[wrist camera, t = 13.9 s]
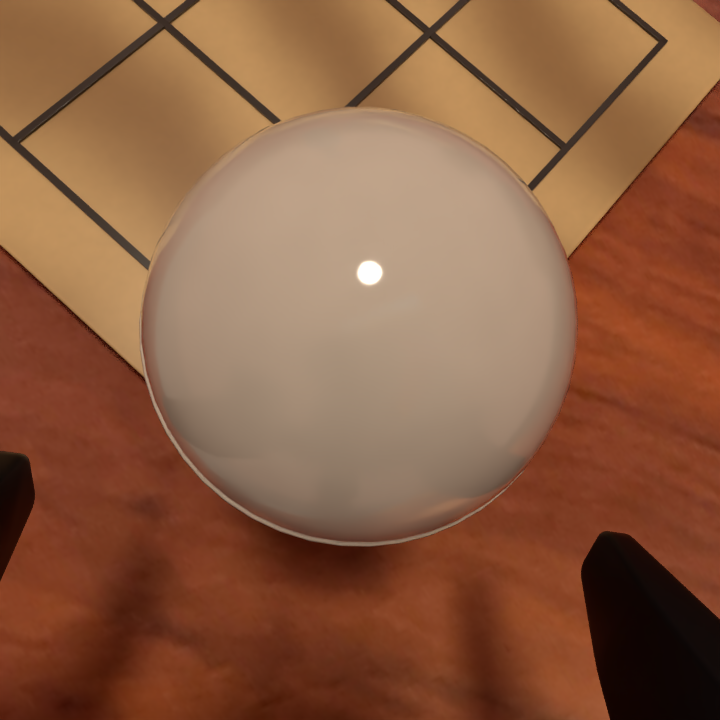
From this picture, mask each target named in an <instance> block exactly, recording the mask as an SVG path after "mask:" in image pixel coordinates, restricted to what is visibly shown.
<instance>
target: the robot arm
mask: <svg viewBox="0 0 720 720" xmlns="http://www.w3.org/2000/svg"><path fill="white" fill-rule="evenodd" d="M34 500H35V490H34V484H33V478H32V473H31V467H30V462H29V459H28V457H27V456H26V455H24V454H21V453H13V452H5V451H0V581H1V578H2V576H3V574H4V572H5V569H6V567H7V565H8V562H9V560H10V558H11V556H12V553H13V551H14V549H15V547H16V544H17V542H18V540H19V538H20V535H21V533H22V531H23V528H24V526H25V524H26V522H27V519H28V517H29V515H30V513H31V510H32V508H33V504H34ZM581 579H582V585H583V591H584V597H585V603H586V609H587V615H588V621H589V627H590V633H591V639H592V645H593V651H594V657H595V662H596V667H597V672H598V676H599V680H600V684H601V688H602V691H603V695H604V699H605V702H606V706H607V710H608V713H609V717H610V720H720V619H719V618H718V617H717V616H716V615H715V614H713V613H712V612H711V611H710V610H709V609H708V608H707V607H706V606H705V605H704V604H703V603H702V602H701V601H700V600H699V599H697V598H696V597H695V596H694V595H693V594H692V593H691V592H690V591H689V590H688V589H687V588H686V587H685V586H684V585H683V584H681V583H680V582H679V581H678V580H677V579H676V578H675V577H674V576H673V575H672V574H671V573H670V572H669V571H668V570H667V569H666V568H664V567H663V566H662V565H661V564H660V563H659V562H658V561H657V560H656V559H655V558H654V557H653V556H652V555H651V554H650V553H648V552H647V551H646V550H645V549H644V548H643V547H642V546H641V545H640V544H639V543H638V542H637V541H636V540H635V539H634V538H632V537H631V536H630V535H628V534H625V533H617V532H610V531H604V532H602V533H601V534H599V536H598V537H597V539H596V541H595V543H594V544H593V546H592V548H591V549H590V551H589V553H588V555H587V556H586V558H585V560H584V562H583V565H582V569H581Z"/></svg>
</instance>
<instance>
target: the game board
mask: <svg viewBox="0 0 720 720" xmlns="http://www.w3.org/2000/svg"><path fill="white" fill-rule="evenodd" d="M719 80H720V23H719V22H718V21H717V20H716V19H714V18H713V17H712V16H711V15H710V14H708V13H707V12H706V11H705V10H703V9H702V8H701V7H700V6H699V5H697V4H696V3H695V2H694V1H692V0H0V245H1V246H2V247H3V248H4V249H5V250H6V251H7V252H8V253H10V254H11V255H12V256H13V257H14V258H15V259H16V260H17V261H18V262H19V263H20V264H21V265H23V266H24V267H25V268H26V269H27V270H28V271H29V272H30V273H31V274H32V275H33V276H34V277H36V278H37V279H38V280H39V281H40V282H41V283H42V284H43V285H44V286H45V287H46V288H48V289H49V290H50V291H51V292H52V293H53V294H54V295H55V296H56V297H57V298H58V299H59V300H61V301H62V302H63V303H64V304H65V305H66V306H67V307H68V308H69V309H70V310H71V311H72V312H74V313H75V314H76V315H77V316H78V317H79V318H80V319H81V320H82V321H83V322H84V323H85V324H87V325H88V326H89V327H90V328H91V329H92V330H93V331H94V332H95V333H96V334H97V335H98V336H100V337H101V338H102V339H103V340H104V341H105V342H106V343H107V344H108V345H109V346H110V347H112V348H113V349H114V350H115V351H116V352H117V353H118V354H119V355H120V356H121V357H122V358H123V359H125V360H126V361H127V362H128V363H129V364H130V365H131V366H132V367H133V368H134V369H135V370H136V371H138V372H139V373H140V374H141V375H142V376H143V377H144V372H143V366H142V360H141V353H140V330H139V319H140V311H141V303H142V295H143V290H144V284H145V281H146V277H147V273H148V270H149V266H150V262H151V258H152V255H153V253H154V250H155V247H156V245H157V243H158V240H159V238H160V236H161V233H162V231H163V229H164V226H165V224H166V222H167V221H168V219H169V217H170V216H171V214H172V212H173V211H174V209H175V207H176V206H177V204H178V202H179V201H180V199H181V198H182V197H183V196H184V194H185V193H186V192H187V191H188V189H189V188H190V187H191V186H192V184H193V183H194V182H195V181H196V179H197V178H198V177H200V176H201V175H202V174H203V173H204V172H205V171H206V170H207V169H208V168H209V167H210V166H211V165H212V164H213V163H214V162H215V161H216V160H217V159H218V158H220V157H221V156H222V155H223V154H224V153H226V152H227V151H228V150H230V149H231V148H232V147H234V146H235V145H237V144H238V143H239V142H241V141H242V140H243V139H245V138H247V137H249V136H251V135H253V134H254V133H256V132H258V131H260V130H262V129H264V128H265V127H268V126H270V125H273V124H275V123H278V122H280V121H283V120H286V119H288V118H291V117H295V116H299V115H302V114H306V113H310V112H314V111H319V110H326V109H334V108H341V107H379V108H388V109H397V110H401V111H406V112H410V113H414V114H419V115H422V116H425V117H428V118H431V119H434V120H436V121H439V122H442V123H445V124H447V125H449V126H451V127H453V128H455V129H457V130H459V131H461V132H463V133H465V134H467V135H468V136H470V137H472V138H473V139H475V140H476V141H478V142H479V143H481V144H483V145H484V146H486V147H487V148H488V149H490V150H491V151H492V152H493V153H495V154H496V155H497V156H498V157H500V158H501V159H502V160H503V161H505V162H506V163H507V164H508V165H509V166H510V167H511V168H512V169H513V170H514V171H515V172H516V173H517V174H518V175H519V176H520V177H521V178H522V179H523V181H524V182H525V183H526V184H527V186H528V187H529V188H530V190H531V191H532V192H533V193H534V195H535V196H536V197H537V199H538V200H539V202H540V203H541V205H542V207H543V208H544V210H545V212H546V213H547V215H548V217H549V218H550V220H551V222H552V223H553V225H554V227H555V229H556V231H557V233H558V236H559V238H560V240H561V242H562V245H563V247H564V249H565V252H566V255H567V258H568V257H569V256H570V255H571V254H572V252H573V251H574V250H575V249H576V248H577V247H578V245H579V244H580V243H581V242H582V241H583V239H584V238H585V237H586V236H587V235H588V234H589V232H590V231H591V230H592V229H593V228H594V227H595V225H596V224H597V223H598V222H599V221H600V219H601V218H602V217H603V216H604V215H605V214H606V212H607V211H608V210H609V209H610V208H611V207H612V205H613V204H614V203H615V202H616V201H617V199H618V198H619V197H620V196H621V195H622V194H623V192H624V191H625V190H626V189H627V188H628V187H629V185H630V184H631V183H632V182H633V181H634V180H635V178H636V177H637V176H638V175H639V174H640V172H641V171H642V170H643V169H644V168H645V167H646V165H647V164H648V163H649V162H650V161H651V160H652V158H653V157H654V156H655V155H656V154H657V152H658V151H659V150H660V149H661V148H662V147H663V145H664V144H665V143H666V142H667V141H668V140H669V138H670V137H671V136H672V135H673V134H674V133H675V131H676V130H677V129H678V128H679V127H680V125H681V124H682V123H683V122H684V121H685V120H686V118H687V117H688V116H689V115H690V114H691V113H692V111H693V110H694V109H695V108H696V107H697V105H698V104H699V103H700V102H701V101H702V100H703V98H704V97H705V96H706V95H707V94H708V93H709V91H710V90H711V89H712V88H713V87H714V85H715V84H716V83H717V82H718V81H719Z"/></svg>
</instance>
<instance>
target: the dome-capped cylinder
mask: <svg viewBox="0 0 720 720" xmlns="http://www.w3.org/2000/svg"><path fill="white" fill-rule="evenodd" d="M139 330H140V353H141V360H142V366H143V372H144V378H145V381H146V385H147V388H148V391H149V394H150V398H151V401H152V404H153V407H154V409H155V411H156V413H157V415H158V418H159V420H160V422H161V424H162V426H163V428H164V430H165V432H166V434H167V436H168V437H169V439H170V440H171V442H172V443H173V445H174V446H175V448H176V449H177V451H178V453H179V454H180V456H181V457H182V459H183V460H184V461H185V462H186V463H187V464H188V466H189V467H190V468H191V469H192V470H193V471H194V472H195V474H196V475H197V476H198V477H199V478H200V479H201V480H202V482H204V483H205V484H206V485H207V486H208V487H209V488H211V489H212V490H213V491H214V492H215V493H216V494H217V495H219V496H220V497H221V498H222V499H223V500H224V501H226V502H227V503H228V504H230V505H232V506H233V507H235V508H236V509H238V510H239V511H241V512H242V513H244V514H245V515H247V516H248V517H250V518H252V519H254V520H256V521H258V522H260V523H262V524H264V525H266V526H268V527H271V528H273V529H275V530H277V531H279V532H282V533H285V534H288V535H292V536H295V537H298V538H301V539H304V540H308V541H312V542H318V543H324V544H330V545H337V546H358V547H373V546H382V545H391V544H400V543H404V542H408V541H411V540H415V539H419V538H423V537H427V536H430V535H433V534H435V533H437V532H440V531H442V530H445V529H447V528H450V527H452V526H455V525H457V524H458V523H460V522H462V521H464V520H465V519H467V518H469V517H470V516H472V515H474V514H476V513H477V512H479V511H481V510H482V509H483V508H484V507H486V506H487V505H488V504H490V503H491V502H492V501H493V500H495V499H496V498H497V497H498V496H500V495H501V494H502V493H503V492H504V491H505V490H506V489H507V488H508V487H509V486H510V485H511V484H512V483H513V482H514V481H515V480H516V479H517V478H518V477H519V476H520V475H521V474H522V473H523V471H524V470H525V468H526V467H527V466H528V464H529V463H530V462H531V460H532V459H533V458H534V456H535V455H536V453H537V452H538V451H539V449H540V448H541V447H542V445H543V444H544V442H545V440H546V438H547V436H548V434H549V432H550V431H551V429H552V427H553V425H554V423H555V421H556V419H557V417H558V416H559V414H560V412H561V409H562V406H563V403H564V401H565V398H566V395H567V393H568V390H569V387H570V383H571V378H572V374H573V369H574V365H575V359H576V348H577V336H578V316H577V298H576V292H575V287H574V281H573V275H572V272H571V268H570V265H569V262H568V259H567V255H566V252H565V249H564V247H563V245H562V242H561V240H560V238H559V236H558V233H557V231H556V229H555V227H554V225H553V223H552V222H551V220H550V218H549V217H548V215H547V213H546V212H545V210H544V208H543V207H542V205H541V203H540V202H539V200H538V199H537V197H536V196H535V195H534V193H533V192H532V191H531V190H530V188H529V187H528V186H527V184H526V183H525V182H524V181H523V179H522V178H521V177H520V176H519V175H518V174H517V173H516V172H515V171H514V170H513V169H512V168H511V167H510V166H509V165H508V164H507V163H506V162H505V161H503V160H502V159H501V158H500V157H498V156H497V155H496V154H495V153H493V152H492V151H491V150H490V149H488V148H487V147H486V146H484V145H483V144H481V143H479V142H478V141H476V140H475V139H473V138H472V137H470V136H468V135H467V134H465V133H463V132H461V131H459V130H457V129H455V128H453V127H451V126H449V125H447V124H445V123H442V122H439V121H436V120H434V119H431V118H428V117H425V116H422V115H419V114H414V113H410V112H406V111H401V110H397V109H388V108H379V107H341V108H334V109H326V110H319V111H314V112H310V113H306V114H302V115H299V116H295V117H291V118H288V119H286V120H283V121H280V122H278V123H275V124H273V125H270V126H268V127H265V128H264V129H262V130H260V131H258V132H256V133H254V134H253V135H251V136H249V137H247V138H245V139H243V140H242V141H241V142H239V143H238V144H237V145H235V146H234V147H232V148H231V149H230V150H228V151H227V152H226V153H224V154H223V155H222V156H221V157H220V158H218V159H217V160H216V161H215V162H214V163H213V164H212V165H211V166H210V167H209V168H208V169H207V170H206V171H205V172H204V173H203V174H202V175H201V176H200V177H198V178H197V179H196V181H195V182H194V183H193V184H192V186H191V187H190V188H189V189H188V191H187V192H186V193H185V194H184V196H183V197H182V198H181V199H180V201H179V202H178V204H177V206H176V207H175V209H174V211H173V212H172V214H171V216H170V217H169V219H168V221H167V222H166V224H165V226H164V229H163V231H162V233H161V236H160V238H159V240H158V243H157V245H156V247H155V250H154V253H153V255H152V258H151V262H150V266H149V270H148V273H147V277H146V281H145V284H144V290H143V295H142V303H141V311H140V319H139Z"/></svg>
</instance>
